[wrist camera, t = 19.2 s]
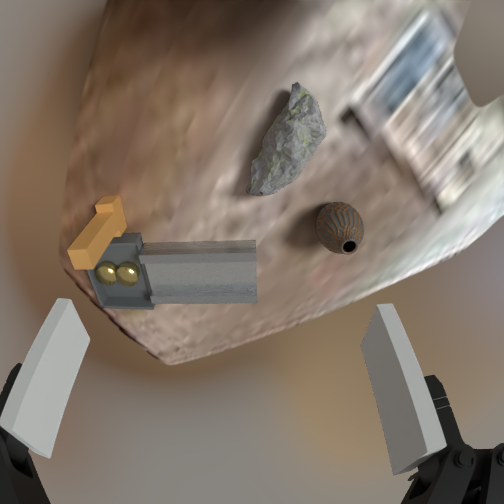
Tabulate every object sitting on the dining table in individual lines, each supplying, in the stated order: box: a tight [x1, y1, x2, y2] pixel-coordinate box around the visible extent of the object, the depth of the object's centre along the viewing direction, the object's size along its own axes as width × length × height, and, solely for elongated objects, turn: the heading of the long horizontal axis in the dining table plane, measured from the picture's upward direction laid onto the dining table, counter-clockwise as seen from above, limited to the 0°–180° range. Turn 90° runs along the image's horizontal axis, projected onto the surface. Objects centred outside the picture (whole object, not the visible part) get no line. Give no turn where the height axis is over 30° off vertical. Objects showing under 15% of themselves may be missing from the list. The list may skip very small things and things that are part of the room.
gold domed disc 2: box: [116, 261, 140, 287], centre depth 50 cm, size 4×4×2 cm
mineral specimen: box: [246, 82, 327, 196], centre depth 37 cm, size 16×7×7 cm, turn 155°
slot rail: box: [139, 240, 257, 304], centre depth 49 cm, size 10×18×4 cm, turn 91°
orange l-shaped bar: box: [67, 195, 127, 270], centre depth 39 cm, size 6×3×13 cm, turn 2°
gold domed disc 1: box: [96, 261, 118, 286], centre depth 50 cm, size 4×4×2 cm
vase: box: [316, 202, 364, 255], centre depth 42 cm, size 7×7×9 cm
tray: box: [86, 233, 155, 310], centre depth 50 cm, size 14×11×3 cm
